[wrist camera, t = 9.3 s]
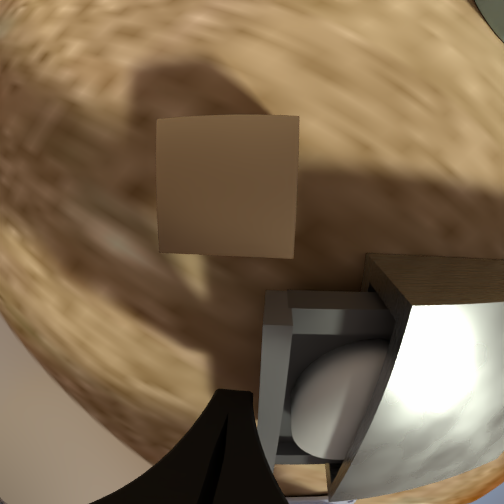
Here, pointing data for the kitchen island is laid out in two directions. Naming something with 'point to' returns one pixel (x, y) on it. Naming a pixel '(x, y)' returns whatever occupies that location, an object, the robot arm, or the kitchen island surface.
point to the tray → (306, 354)
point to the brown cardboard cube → (227, 185)
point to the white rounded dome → (335, 397)
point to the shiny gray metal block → (430, 377)
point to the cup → (493, 14)
